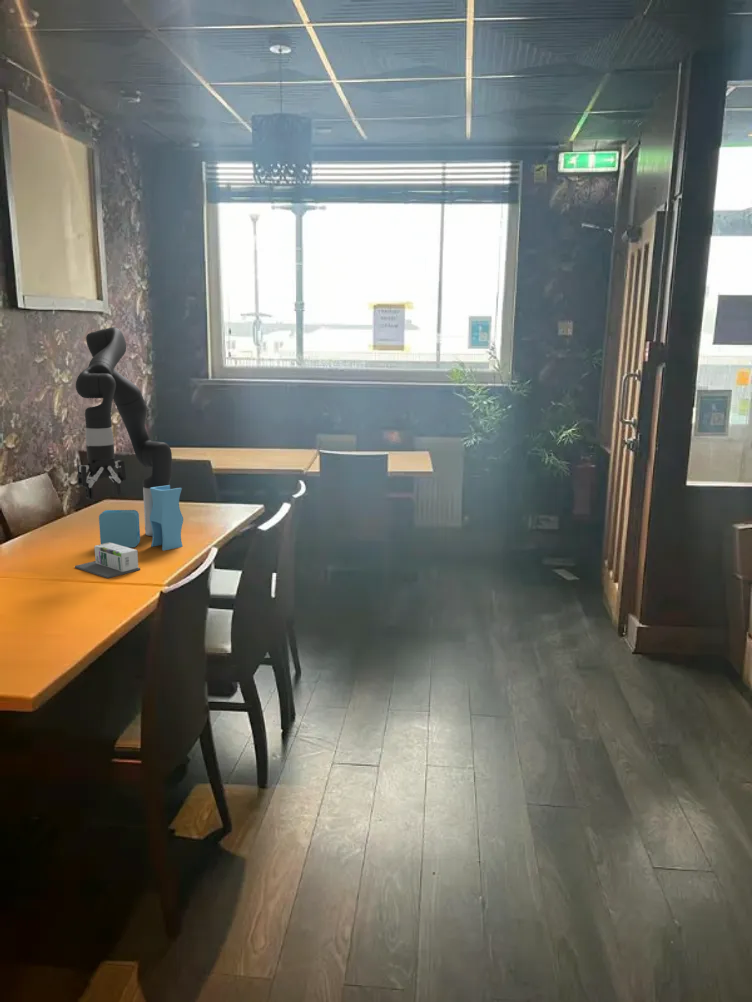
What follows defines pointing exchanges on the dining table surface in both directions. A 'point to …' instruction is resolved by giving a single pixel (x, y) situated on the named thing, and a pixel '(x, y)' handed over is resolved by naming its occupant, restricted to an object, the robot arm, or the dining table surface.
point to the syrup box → (116, 556)
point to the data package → (120, 527)
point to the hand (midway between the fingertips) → (103, 497)
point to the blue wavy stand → (166, 517)
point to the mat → (102, 570)
